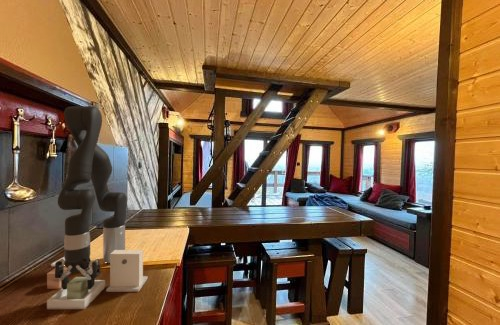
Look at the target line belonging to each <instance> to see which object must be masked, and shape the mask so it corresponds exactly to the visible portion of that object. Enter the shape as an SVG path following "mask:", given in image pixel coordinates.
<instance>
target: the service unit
mask: <svg viewBox="0 0 500 325" xmlns="http://www.w3.org/2000/svg"><path fill="white" fill-rule="evenodd" d="M148 277H149V276H147V275H144V250H143V249H125V250H114V251H113V252H112V253H111V254H110V264H109V282H110V283H109V286H108V287H107V288H106V290H105V292H107V293H108V292H109V293H110V292H112V293H113V292H115V293H116V292H117V293H118V292H119V293H121V292H122V293H123V292H124V293H125V292H127V293H129V292H133V293H134V292H137V293H138V292H139V291H140V290H141V289H142V287H143V286H144V284H145V283H146V281H147V280H148Z"/></svg>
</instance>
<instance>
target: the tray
mask: <svg viewBox="0 0 500 325" xmlns="http://www.w3.org/2000/svg"><path fill="white" fill-rule="evenodd" d="M105 288H106V280H105V279H94V286H93V287H92V288H91V289H88V293H87V294H86V295H85V296H84V297H83V298H82V299H67V289H65V290H63V288H62V287H61V288H60V290H58V291H57V292H56V293H54V294H53V295H52V296H50V297H49V298H48V299H47V300H46V309H47V311H48V310H86V309H87V307H88V306H90V304H91V303H92V302H93V301H94V300H95V299H96V298H97V297H98V296H99V295H100V293H101V292H102V291H104V289H105Z"/></svg>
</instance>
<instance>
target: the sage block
mask: <svg viewBox="0 0 500 325" xmlns="http://www.w3.org/2000/svg"><path fill="white" fill-rule="evenodd" d="M87 280H88V279H87V277H86V276H75V277H74V278H73V279H71V280H69V283H67V299H82V298H83V297H84V296H85V295H86V294H87V293H88V289H87Z"/></svg>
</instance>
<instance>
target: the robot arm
mask: <svg viewBox="0 0 500 325" xmlns="http://www.w3.org/2000/svg"><path fill="white" fill-rule="evenodd" d="M63 116H64V122H65V124H66V126H67V128H68V131H69V132H70V134H71V136H72V138H73V140H74V141H75V143H76V145H77V147H76V148H75V150H74V151H73V152H72V154H71V156H70V158H69V161H68V165H67V176H66V179H65V182H64V184H63V187H62V188H61V190H60V192H59V195H58V198H57V207H59V208H60V209H61V210H63V211H70V210H81V212H80V213H78V214H74V215H70V216H68V217H66V218H65V220H64V241H63V242H64V243H63V244H64V246H63V247H64V249H63V251H64V255H63V257H64V259H65V260H64V259H61V258H60V259H61V260H59V259H58V260H59V261H57V260H56V261H57V262H56V261H55V262H56V263H55V267H54V269H55V278H60V279H61V289H62V288H63V290H65V289H67V283H69V282H70V277H69V275H71V274H82V275H83V277H87V279H88V280H87V289H91V288H92V287H93V286H94V280H95V279H96V278H97V277H98V276H100V274H101V267H100V265H101V264H100V263H101V262H100V259H99V258H96V259H95V260H94V259H91V257H90V256H91V233H90V219H91V218H90V217H91V213H92V209H93V207H94V204H95V201H97V205H98V206H99V209H100V210H101V211H102V212H110V213H111V212H112V213H113V216H111V217H108V218H105V219H104V220H103V222H102V232H103V233H102V237H103V238H102V241H103V242H102V245H103V246H102V247H103V248H102V251H103V252H102V254H103V256H102V258H103V259H102V260H103V261H104V262H107V263H110V254H111V253H112V252H113V251H114V250H126V219H127V209H128V208H127V207H128V205H127V204H128V199H127V198H128V197H127V194H126V193H125V192H116V191H110V190H109V189H108V188H109V187H108V182H109V179H110V177H111V175H112V171H113V166H112V165H113V164H112V162H111V159H110V156H109V155H108V154H107V152H106V151H105V150H104V149H103V148H101V147H100V146H99V145H98V141H99V137H100V134H101V129H102V127H103V126H102V124H103V116H102V113H101V110H100V109H99V108H98V107H96V106H93V105H92V106H85V105H82V106H79V105H76V106H74V105H73V106H68V107H66V108H65V110H64V114H63ZM90 181H91V184H92V187H93V189H94V191H93V190H92V189H88V188H87V189H85V188H84V189H76V188H77V186H79V185H80V186H81V185H84V184H88V183H90ZM103 261H102V262H103ZM104 262H103V263H104ZM64 265H65V266H66V267H64ZM64 268H67V269H66V271H65V272H64V273H63V271H64Z"/></svg>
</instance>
